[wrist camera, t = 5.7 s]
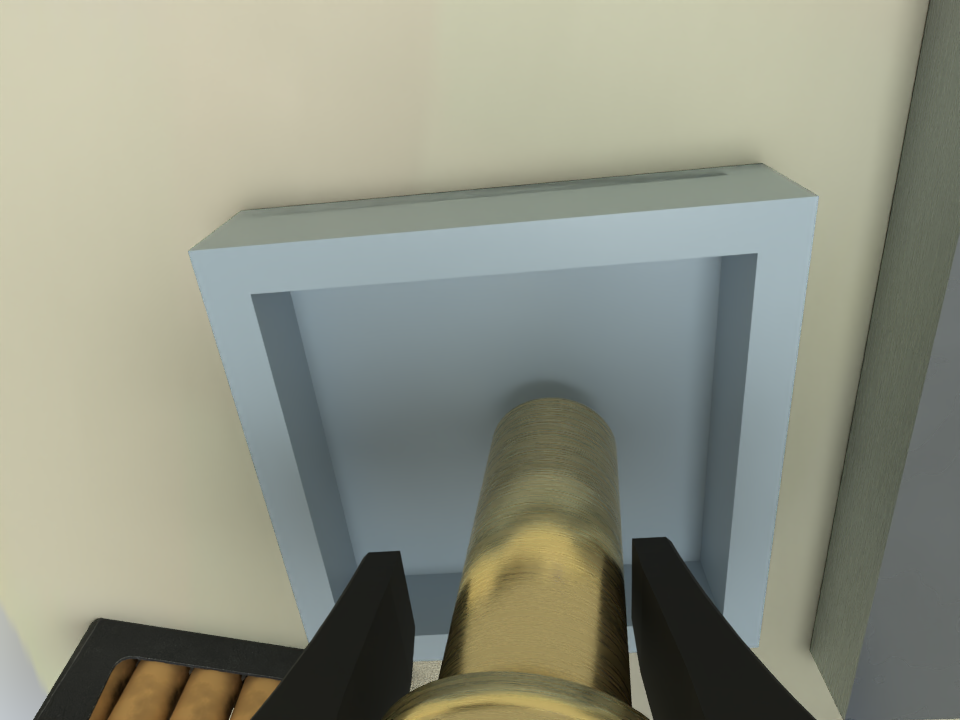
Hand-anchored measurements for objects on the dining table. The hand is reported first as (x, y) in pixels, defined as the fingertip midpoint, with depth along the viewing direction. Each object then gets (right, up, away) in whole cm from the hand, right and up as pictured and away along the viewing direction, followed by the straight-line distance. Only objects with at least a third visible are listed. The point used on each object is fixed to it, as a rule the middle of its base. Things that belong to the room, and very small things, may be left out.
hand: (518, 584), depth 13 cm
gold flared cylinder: (+1, +2, +4) cm, 4 cm away
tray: (0, +3, +5) cm, 6 cm away
